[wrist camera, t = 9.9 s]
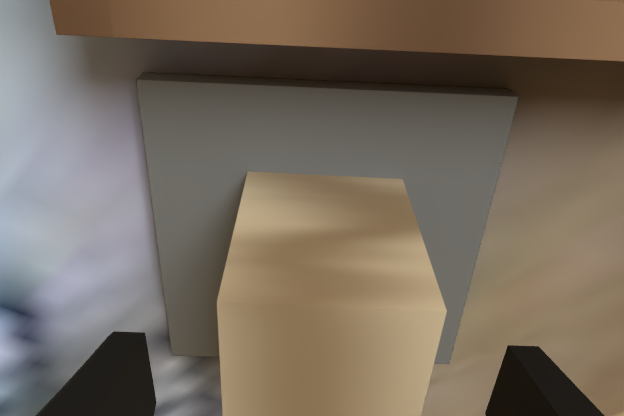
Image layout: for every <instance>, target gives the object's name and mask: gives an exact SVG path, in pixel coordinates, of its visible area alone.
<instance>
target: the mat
mask: <svg viewBox="0 0 624 416" xmlns="http://www.w3.org/2000/svg"><path fill="white" fill-rule="evenodd" d="M136 83H137V91H138V99H139V106H140V114H141V122H142V129H143V137H144V145H145V152H146V160H147V168H148V175H149V183H150V190H151V198H152V206H153V213H154V221H155V229H156V236H157V244H158V252H159V259H160V267H161V275H162V282H163V290H164V298H165V305H166V313H167V320H168V328H169V336H170V343H171V351H172V356H204V357H220V355H219V336H218V317H217V299H218V294H219V290H220V286H221V282H222V278H223V273H224V269H225V265H226V261H227V256H228V252H229V248H230V244H231V240H232V235H233V231H234V227H235V223H236V218H237V214H238V210H239V206H240V202H241V197H242V193H243V189H244V185H245V180H246V176H247V172H267V173H288V174H309V175H329V176H350V177H371V178H392V179H403V182H404V185H405V188H406V191H407V194H408V197H409V200H410V203H411V206H412V208H413V211H414V214H415V217H416V220H417V223H418V226H419V229H420V232H421V235H422V238H423V241H424V244H425V247H426V250H427V253H428V256H429V259H430V262H431V265H432V268H433V271H434V274H435V277H436V280H437V283H438V286H439V289H440V292H441V295H442V298H443V301H444V304H445V307H446V310H447V313H446V317H445V321H444V325H443V329H442V333H441V337H440V341H439V345H438V349H437V353H436V357H435V361H434V364H449V363H450V359H451V355H452V352H453V348H454V344H455V340H456V336H457V332H458V329H459V325H460V321H461V317H462V313H463V309H464V306H465V302H466V298H467V294H468V290H469V286H470V283H471V279H472V275H473V271H474V267H475V263H476V259H477V256H478V252H479V248H480V244H481V240H482V236H483V233H484V229H485V225H486V221H487V217H488V213H489V210H490V206H491V202H492V198H493V194H494V190H495V187H496V183H497V179H498V175H499V171H500V167H501V164H502V160H503V156H504V152H505V148H506V144H507V141H508V137H509V133H510V129H511V125H512V121H513V118H514V114H515V110H516V106H517V102H518V98H519V97H518V96H517V95H516V94H515V93H514V92H513V91H512V90H511V89H497V88H475V87H453V86H431V85H409V84H387V83H365V82H343V81H320V80H298V79H276V78H254V77H232V76H210V75H188V74H166V73H144V72H143V73H142V74H141V75H140V76H139V77H138V78H137V79H136Z"/></svg>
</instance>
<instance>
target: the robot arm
mask: <svg viewBox="0 0 624 416" xmlns="http://www.w3.org/2000/svg"><path fill="white" fill-rule="evenodd" d="M155 406H156V397H155V391H154V385H153V379H152V373H151V367H150V361H149V355H148V348H147V342H146V336H145V333H137V332H113V333H112V334H110V335H109V336H108V337H107V338H106V340H105V341H104V342H103V343H102V344H101V345H100V346H99V348H98V349H97V350H96V351H95V352H94V353H93V354H92V355H91V357H90V358H89V359H88V360H87V361H86V362H85V363H84V364H83V366H82V367H81V368H80V369H79V370H78V371H77V372H76V373H75V374H74V376H73V377H72V378H71V379H70V380H69V381H68V382H67V383H66V384H65V385H64V386H63V388H62V389H61V390H60V391H59V392H58V393H57V394H56V395H55V396H54V397H53V398H52V399H51V400H50V401H49V402H48V403H47V404H46V406H45V407H44V408H43V409H42V410H41V411H40V412H39V413H38V414H37V415H36V416H153V415H154V411H155ZM485 414H486V416H604V415H603V414H602V413H601V412H600V411H599V410H598V409H597V408H596V406H595V405H594V404H593V403H592V402H591V401H590V400H589V399H588V398H587V397H586V396H585V395H584V394H583V393H582V392H581V391H580V390H579V389H578V388H577V387H576V385H575V384H574V383H573V382H572V381H571V380H570V379H569V378H568V377H567V376H566V375H565V374H564V373H563V372H562V371H561V370H560V369H559V367H558V366H557V365H556V364H555V363H554V362H553V361H552V360H551V359H550V358H549V357H548V356H547V355H546V354H545V353H544V352H543V351H542V350H541V349H540V348H539V347H537V346H509V345H508V347H507V350H506V353H505V356H504V359H503V362H502V365H501V368H500V371H499V374H498V377H497V380H496V383H495V386H494V389H493V392H492V395H491V398H490V401H489V404H488V407H487V410H486V413H485Z"/></svg>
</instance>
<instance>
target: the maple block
mask: <svg viewBox="0 0 624 416" xmlns="http://www.w3.org/2000/svg"><path fill="white" fill-rule="evenodd" d="M446 313H447V310H446V307H445V304H444V301H443V298H442V295H441V292H440V289H439V286H438V283H437V280H436V277H435V274H434V271H433V268H432V265H431V262H430V259H429V256H428V253H427V250H426V247H425V244H424V241H423V238H422V235H421V232H420V229H419V226H418V223H417V220H416V217H415V214H414V211H413V208H412V206H411V203H410V200H409V197H408V194H407V191H406V188H405V185H404V182H403V179H392V178H371V177H350V176H329V175H309V174H288V173H267V172H247V176H246V180H245V185H244V189H243V193H242V197H241V202H240V206H239V210H238V214H237V218H236V223H235V227H234V231H233V235H232V240H231V244H230V248H229V252H228V256H227V261H226V265H225V269H224V273H223V278H222V282H221V286H220V290H219V294H218V299H217V317H218V336H219V355H220V373H221V392H222V411H223V416H421V413H422V409H423V405H424V401H425V397H426V393H427V389H428V385H429V381H430V377H431V373H432V369H433V365H434V361H435V357H436V353H437V349H438V345H439V341H440V337H441V333H442V329H443V325H444V321H445V317H446Z"/></svg>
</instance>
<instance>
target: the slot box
mask: <svg viewBox="0 0 624 416" xmlns="http://www.w3.org/2000/svg"><path fill="white" fill-rule="evenodd" d="M50 4H51V9H52V14H53V19H54V24H55V29H56V34H57V35H75V36H96V37H117V38H139V39H160V40H181V41H202V42H224V43H245V44H266V45H288V46H309V47H330V48H351V49H373V50H394V51H415V52H436V53H458V54H479V55H500V56H522V57H543V58H564V59H585V60H607V61H624V0H50Z"/></svg>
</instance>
